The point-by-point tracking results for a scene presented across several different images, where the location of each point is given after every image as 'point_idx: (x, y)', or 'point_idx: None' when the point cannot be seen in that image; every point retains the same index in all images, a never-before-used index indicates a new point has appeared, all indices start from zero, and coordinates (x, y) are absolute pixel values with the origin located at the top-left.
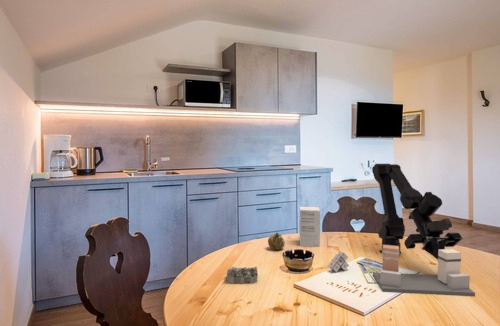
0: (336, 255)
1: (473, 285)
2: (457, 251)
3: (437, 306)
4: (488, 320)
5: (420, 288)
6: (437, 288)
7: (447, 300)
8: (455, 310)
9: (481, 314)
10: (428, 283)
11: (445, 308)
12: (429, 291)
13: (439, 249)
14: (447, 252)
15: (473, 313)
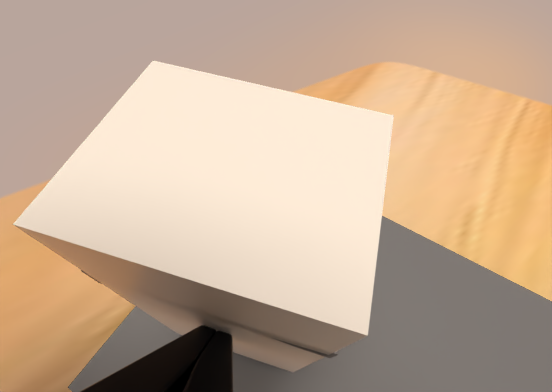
0: None
1: None
2: (136, 99)
3: (513, 171)
4: (402, 65)
5: (524, 312)
6: (410, 266)
7: (427, 187)
8: (460, 129)
9: (389, 87)
10: (410, 355)
11: (489, 150)
12: (477, 268)
13: (335, 322)
14: (351, 127)
15: (411, 98)
